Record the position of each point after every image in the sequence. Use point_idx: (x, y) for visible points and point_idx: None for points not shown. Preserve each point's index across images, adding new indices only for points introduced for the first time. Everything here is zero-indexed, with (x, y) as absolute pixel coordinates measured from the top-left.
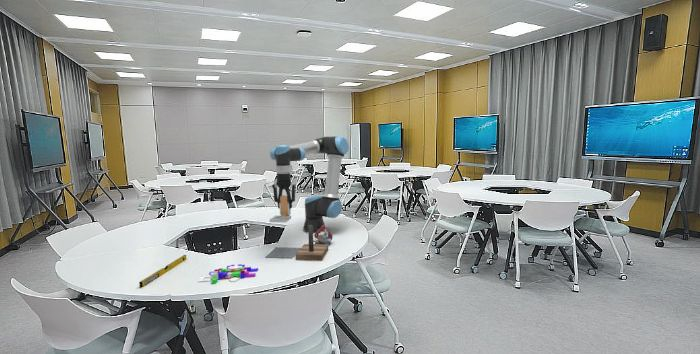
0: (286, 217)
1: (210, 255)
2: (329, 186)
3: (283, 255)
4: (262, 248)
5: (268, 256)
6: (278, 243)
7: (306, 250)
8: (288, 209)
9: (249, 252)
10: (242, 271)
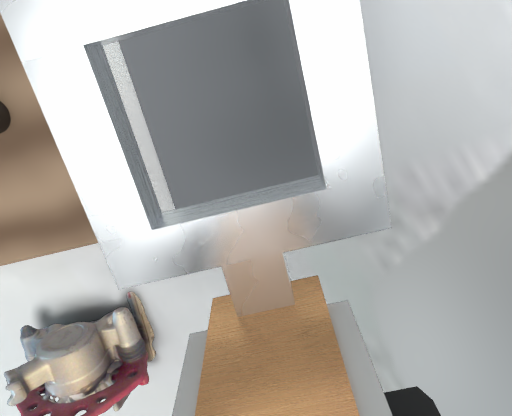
0: (108, 162)
1: None
2: None
3: (203, 44)
4: (445, 140)
5: None
6: (383, 261)
7: (32, 112)
8: (185, 401)
9: (502, 30)
10: None
